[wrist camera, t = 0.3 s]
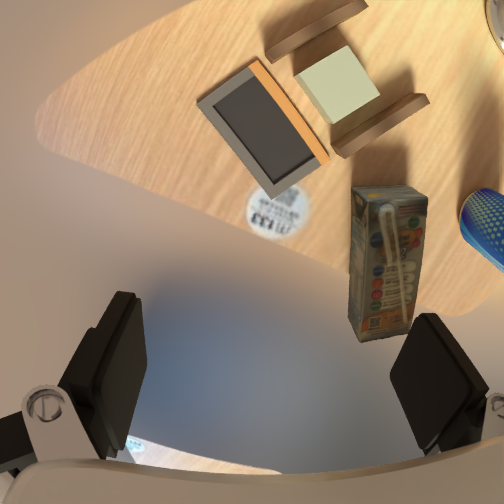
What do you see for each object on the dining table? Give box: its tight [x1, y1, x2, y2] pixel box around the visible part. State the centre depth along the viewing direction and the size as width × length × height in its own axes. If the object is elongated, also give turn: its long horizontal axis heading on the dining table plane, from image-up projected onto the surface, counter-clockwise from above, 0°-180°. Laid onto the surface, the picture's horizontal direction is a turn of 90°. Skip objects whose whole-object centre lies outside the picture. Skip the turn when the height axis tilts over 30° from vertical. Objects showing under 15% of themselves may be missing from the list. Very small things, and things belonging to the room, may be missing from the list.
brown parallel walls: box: [265, 0, 430, 159], centre depth 29 cm, size 12×13×4 cm
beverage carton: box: [348, 184, 428, 343], centre depth 37 cm, size 8×19×7 cm, turn 6°
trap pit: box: [196, 60, 330, 200], centre depth 33 cm, size 8×13×1 cm, turn 37°
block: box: [294, 45, 380, 124], centre depth 29 cm, size 6×6×4 cm
